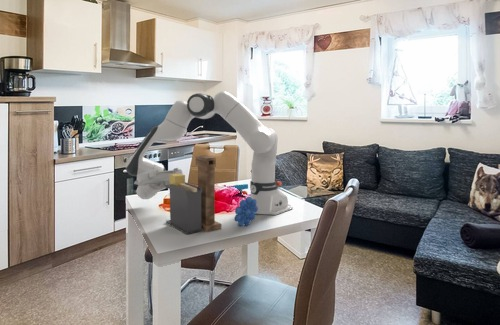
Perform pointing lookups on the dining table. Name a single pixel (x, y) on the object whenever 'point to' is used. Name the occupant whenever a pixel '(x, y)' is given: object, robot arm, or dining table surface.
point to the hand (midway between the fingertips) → (167, 170)
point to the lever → (241, 188)
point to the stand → (207, 192)
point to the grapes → (246, 211)
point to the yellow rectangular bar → (180, 182)
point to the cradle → (185, 209)
